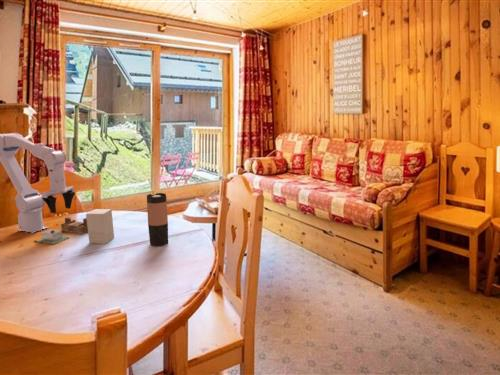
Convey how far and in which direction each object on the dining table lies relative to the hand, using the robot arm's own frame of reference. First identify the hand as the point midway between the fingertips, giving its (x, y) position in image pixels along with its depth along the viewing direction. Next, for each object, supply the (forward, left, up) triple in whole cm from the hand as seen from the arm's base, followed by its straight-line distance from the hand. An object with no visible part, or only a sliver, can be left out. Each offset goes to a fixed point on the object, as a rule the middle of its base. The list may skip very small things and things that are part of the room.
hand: (60, 210), depth 148 cm
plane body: (+3, +5, -10) cm, 12 cm away
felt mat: (+2, -8, -10) cm, 13 cm away
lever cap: (+2, -8, -10) cm, 13 cm away
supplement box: (+22, -2, -11) cm, 25 cm away
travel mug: (+46, +3, -11) cm, 47 cm away
